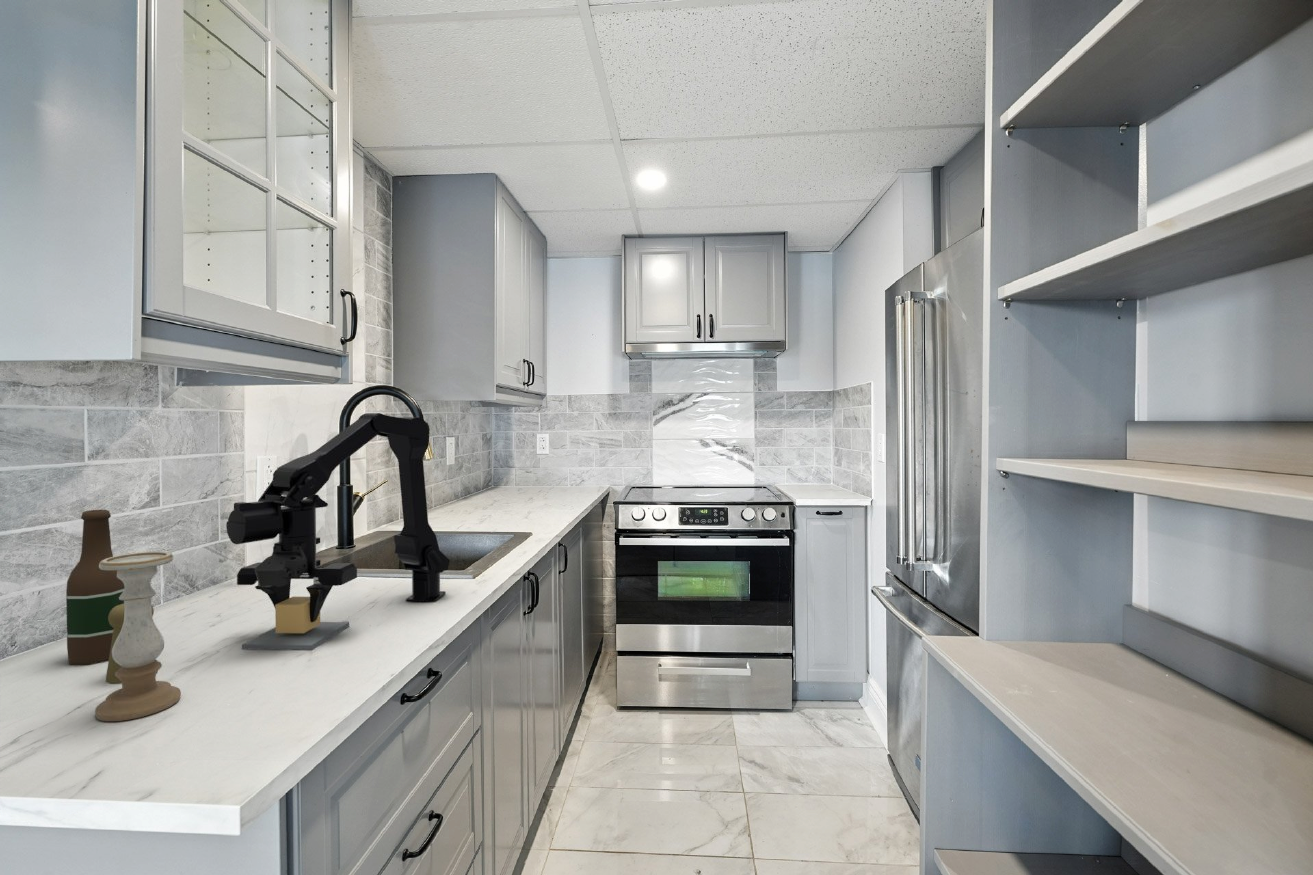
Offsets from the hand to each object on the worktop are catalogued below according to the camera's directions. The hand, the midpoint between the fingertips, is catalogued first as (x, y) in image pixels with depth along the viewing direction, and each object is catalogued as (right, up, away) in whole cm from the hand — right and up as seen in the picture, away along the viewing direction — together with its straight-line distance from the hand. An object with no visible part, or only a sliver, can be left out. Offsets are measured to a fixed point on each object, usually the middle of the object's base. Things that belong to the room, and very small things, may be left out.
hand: (298, 621), depth 109 cm
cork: (-15, -3, -17) cm, 23 cm away
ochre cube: (0, -1, 0) cm, 1 cm away
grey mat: (0, -3, 0) cm, 3 cm away
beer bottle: (-27, -3, -9) cm, 29 cm away
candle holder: (-6, -4, -27) cm, 28 cm away
